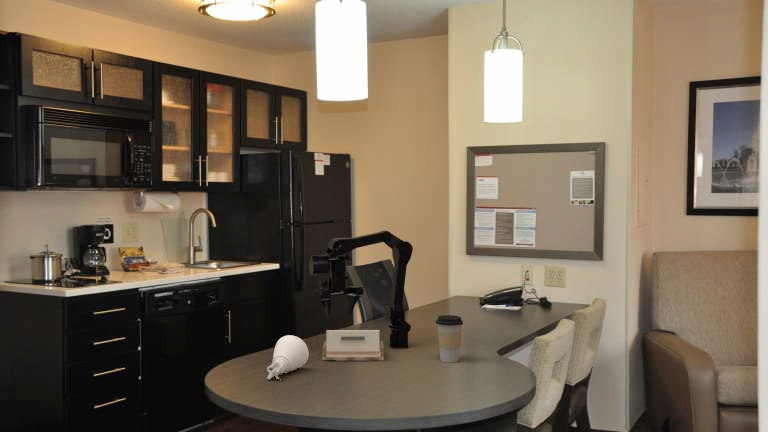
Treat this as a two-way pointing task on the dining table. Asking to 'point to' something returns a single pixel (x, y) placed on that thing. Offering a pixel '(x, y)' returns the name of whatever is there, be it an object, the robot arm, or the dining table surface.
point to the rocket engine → (288, 355)
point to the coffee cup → (449, 337)
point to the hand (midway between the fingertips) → (339, 316)
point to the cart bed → (381, 357)
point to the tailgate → (352, 343)
